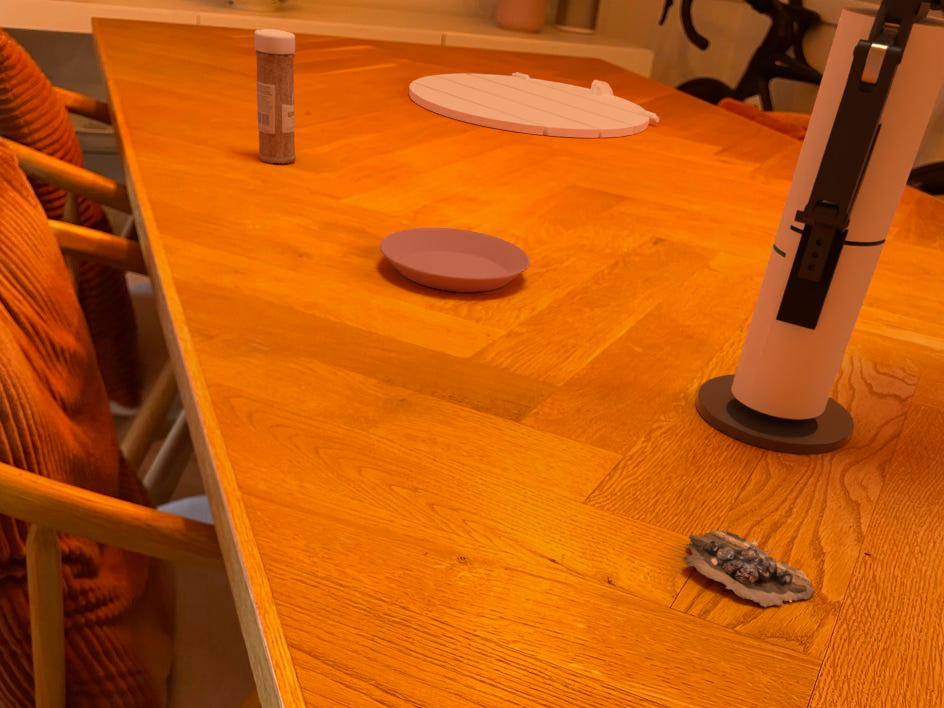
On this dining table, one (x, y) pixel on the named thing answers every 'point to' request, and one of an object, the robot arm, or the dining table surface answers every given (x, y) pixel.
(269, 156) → the sprinkles bottle
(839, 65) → the cylindrical container
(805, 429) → the coaster
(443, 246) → the plate
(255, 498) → the dining table surface
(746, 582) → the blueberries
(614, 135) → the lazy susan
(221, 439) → the dining table surface
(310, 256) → the dining table surface
